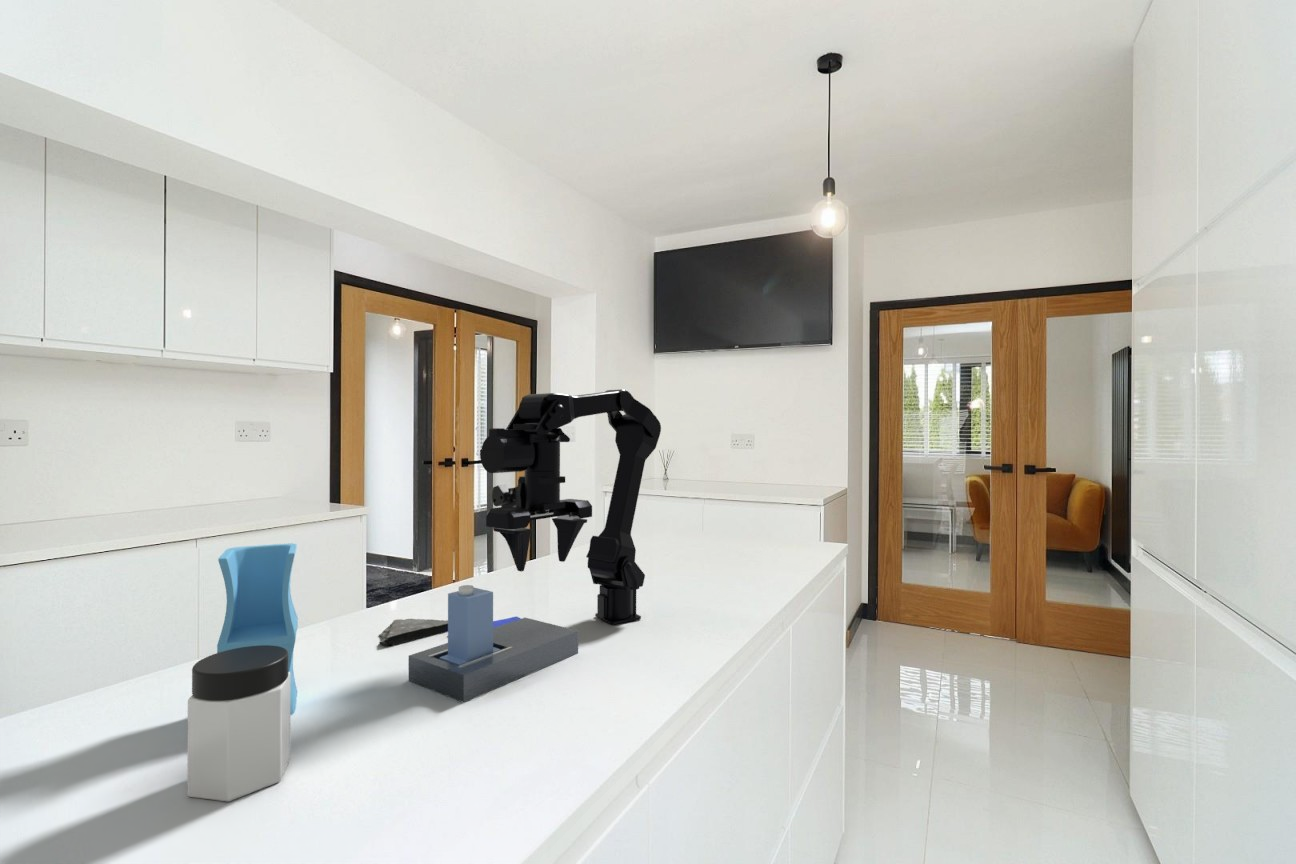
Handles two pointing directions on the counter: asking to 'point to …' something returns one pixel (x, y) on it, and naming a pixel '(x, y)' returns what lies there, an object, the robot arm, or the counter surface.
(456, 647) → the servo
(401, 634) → the stone
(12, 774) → the counter surface
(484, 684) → the plate
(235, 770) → the jar
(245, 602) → the vase
